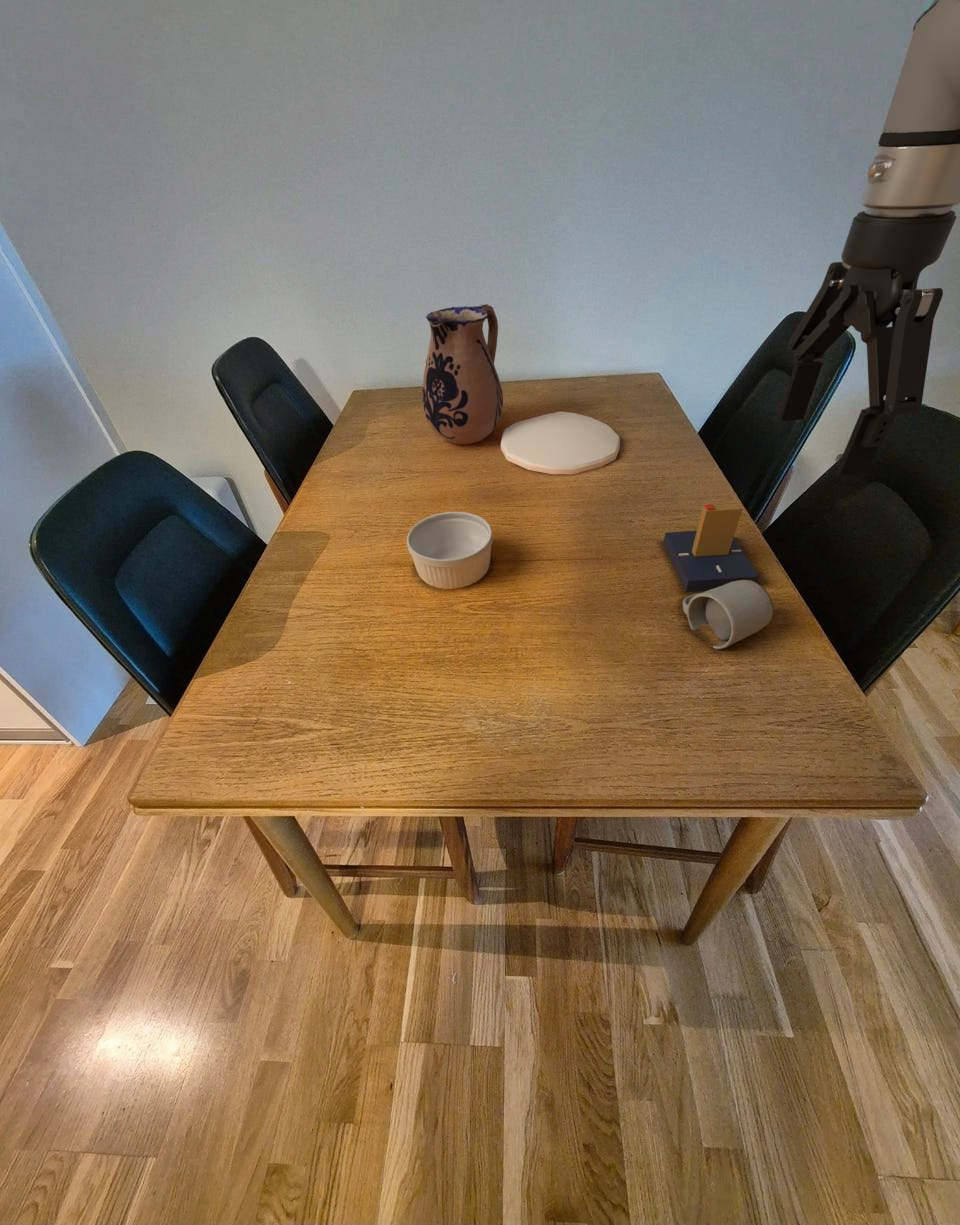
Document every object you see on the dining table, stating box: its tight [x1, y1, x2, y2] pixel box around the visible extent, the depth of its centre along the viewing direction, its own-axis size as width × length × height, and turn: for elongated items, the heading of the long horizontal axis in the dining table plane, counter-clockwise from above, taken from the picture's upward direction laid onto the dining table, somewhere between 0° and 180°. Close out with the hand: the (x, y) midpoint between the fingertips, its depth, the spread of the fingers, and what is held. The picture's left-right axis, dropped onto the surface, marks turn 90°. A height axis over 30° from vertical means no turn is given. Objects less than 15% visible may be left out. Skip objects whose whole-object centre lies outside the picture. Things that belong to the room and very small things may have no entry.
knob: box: [692, 503, 743, 557], centre depth 77 cm, size 5×1×8 cm, turn 91°
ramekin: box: [406, 511, 494, 590], centre depth 84 cm, size 13×13×7 cm
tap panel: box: [662, 530, 760, 593], centre depth 81 cm, size 12×10×3 cm
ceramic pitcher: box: [422, 303, 504, 445], centre depth 114 cm, size 18×21×25 cm
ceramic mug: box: [682, 580, 774, 650], centre depth 71 cm, size 11×8×8 cm
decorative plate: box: [500, 410, 621, 475], centre depth 112 cm, size 25×4×25 cm
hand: (818, 443), depth 60 cm, fingers open, 13 cm apart
